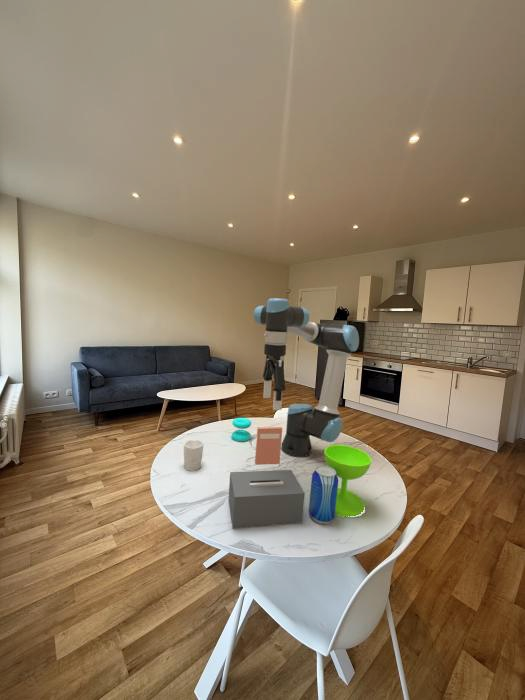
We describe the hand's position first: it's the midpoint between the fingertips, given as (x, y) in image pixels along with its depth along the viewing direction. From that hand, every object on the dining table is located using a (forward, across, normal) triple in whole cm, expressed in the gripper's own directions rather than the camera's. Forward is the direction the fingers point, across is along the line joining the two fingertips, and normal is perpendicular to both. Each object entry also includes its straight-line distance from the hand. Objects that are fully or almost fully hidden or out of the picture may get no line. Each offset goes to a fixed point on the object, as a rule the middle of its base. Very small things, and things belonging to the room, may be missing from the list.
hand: (271, 403), depth 100 cm
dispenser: (+34, +10, -3) cm, 35 cm away
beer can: (+34, +15, +15) cm, 40 cm away
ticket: (+17, +10, -3) cm, 20 cm away
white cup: (+34, -21, -26) cm, 48 cm away
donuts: (+35, -48, -2) cm, 59 cm away
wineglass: (+34, +9, +26) cm, 44 cm away
